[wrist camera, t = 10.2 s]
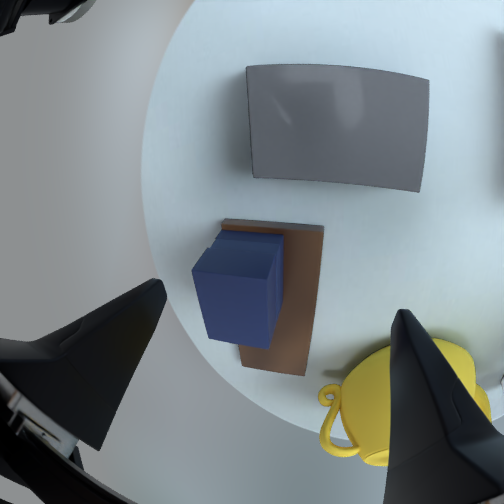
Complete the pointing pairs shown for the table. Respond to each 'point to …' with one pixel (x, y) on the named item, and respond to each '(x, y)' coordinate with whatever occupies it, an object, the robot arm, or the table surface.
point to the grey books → (338, 124)
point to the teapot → (382, 402)
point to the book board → (288, 296)
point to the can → (502, 384)
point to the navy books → (256, 244)
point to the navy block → (237, 295)
